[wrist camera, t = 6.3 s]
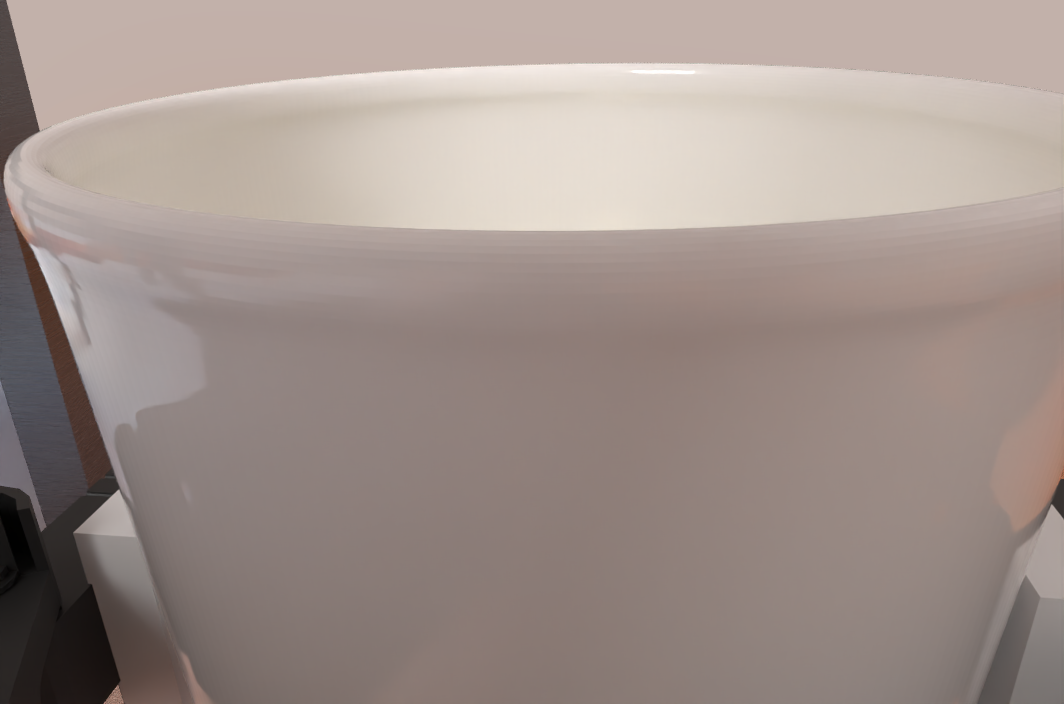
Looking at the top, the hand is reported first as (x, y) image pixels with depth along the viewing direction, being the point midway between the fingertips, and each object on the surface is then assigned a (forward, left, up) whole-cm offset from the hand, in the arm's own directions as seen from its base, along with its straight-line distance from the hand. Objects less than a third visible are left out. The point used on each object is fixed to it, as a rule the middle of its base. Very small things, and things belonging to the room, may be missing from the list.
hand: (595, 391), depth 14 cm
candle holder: (0, +5, -7) cm, 8 cm away
